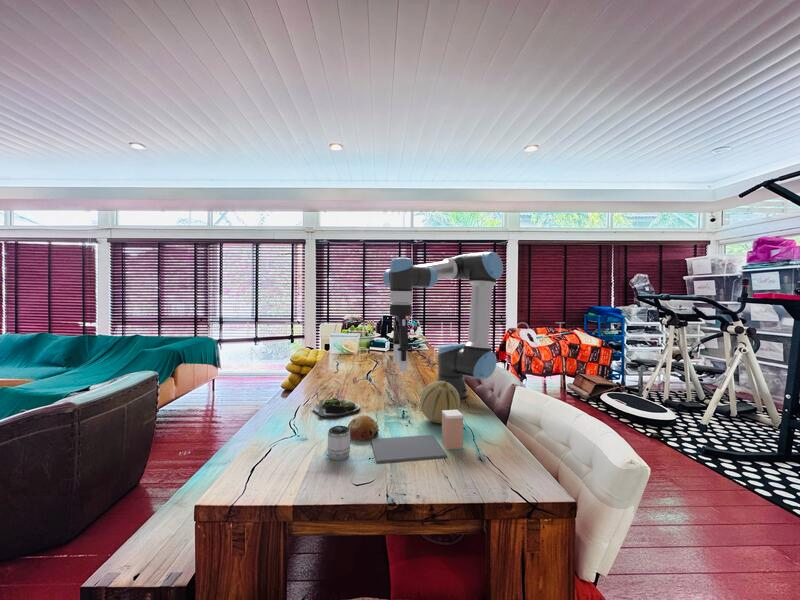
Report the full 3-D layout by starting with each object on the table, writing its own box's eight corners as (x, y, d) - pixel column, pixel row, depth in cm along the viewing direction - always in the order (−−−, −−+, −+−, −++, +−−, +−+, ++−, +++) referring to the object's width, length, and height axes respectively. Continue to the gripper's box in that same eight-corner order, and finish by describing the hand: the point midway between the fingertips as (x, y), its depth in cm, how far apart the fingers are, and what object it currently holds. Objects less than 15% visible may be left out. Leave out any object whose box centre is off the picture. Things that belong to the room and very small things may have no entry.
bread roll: (369, 438, 116) (363, 415, 118) (387, 434, 109) (380, 409, 112) (345, 447, 109) (339, 422, 112) (363, 443, 103) (356, 416, 105)
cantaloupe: (432, 411, 133) (432, 373, 132) (466, 420, 124) (467, 379, 124) (411, 423, 121) (411, 381, 120) (448, 433, 112) (448, 388, 112)
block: (456, 441, 106) (457, 409, 106) (462, 448, 101) (463, 415, 101) (441, 442, 105) (442, 410, 105) (446, 449, 101) (447, 416, 100)
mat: (432, 436, 110) (432, 434, 110) (446, 457, 96) (446, 455, 96) (371, 440, 106) (371, 439, 106) (376, 462, 92) (376, 460, 92)
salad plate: (301, 408, 136) (301, 396, 136) (341, 399, 147) (341, 389, 147) (324, 422, 121) (324, 410, 121) (365, 412, 132) (365, 400, 132)
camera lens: (336, 448, 100) (336, 422, 100) (354, 453, 98) (354, 426, 97) (322, 457, 95) (323, 430, 94) (341, 463, 92) (341, 434, 92)
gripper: (386, 302, 127) (385, 359, 127) (394, 304, 102) (393, 375, 102) (405, 303, 128) (404, 359, 128) (419, 305, 103) (417, 374, 103)
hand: (399, 366), depth 115 cm, fingers open, 13 cm apart
